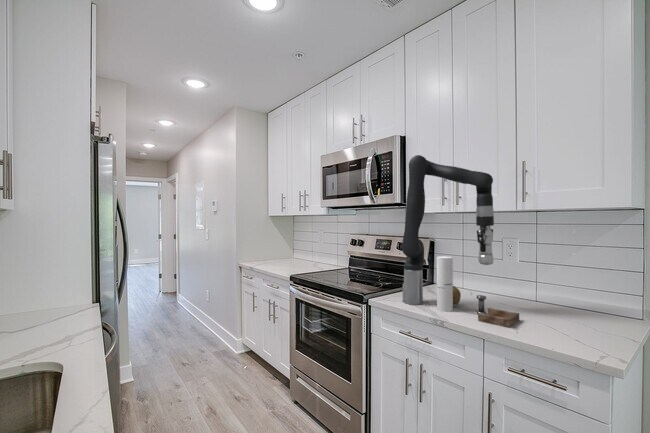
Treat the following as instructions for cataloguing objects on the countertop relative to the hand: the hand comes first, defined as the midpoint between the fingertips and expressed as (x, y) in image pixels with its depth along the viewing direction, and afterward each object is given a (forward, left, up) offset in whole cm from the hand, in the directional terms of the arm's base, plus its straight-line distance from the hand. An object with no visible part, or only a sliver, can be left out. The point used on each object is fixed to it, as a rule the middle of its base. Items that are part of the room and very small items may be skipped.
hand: (485, 251), depth 155 cm
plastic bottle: (0, 0, -7) cm, 7 cm away
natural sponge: (-15, -4, -28) cm, 32 cm away
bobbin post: (+1, -8, -28) cm, 29 cm away
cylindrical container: (-14, -13, -28) cm, 34 cm away
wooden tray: (+10, -13, -28) cm, 32 cm away
